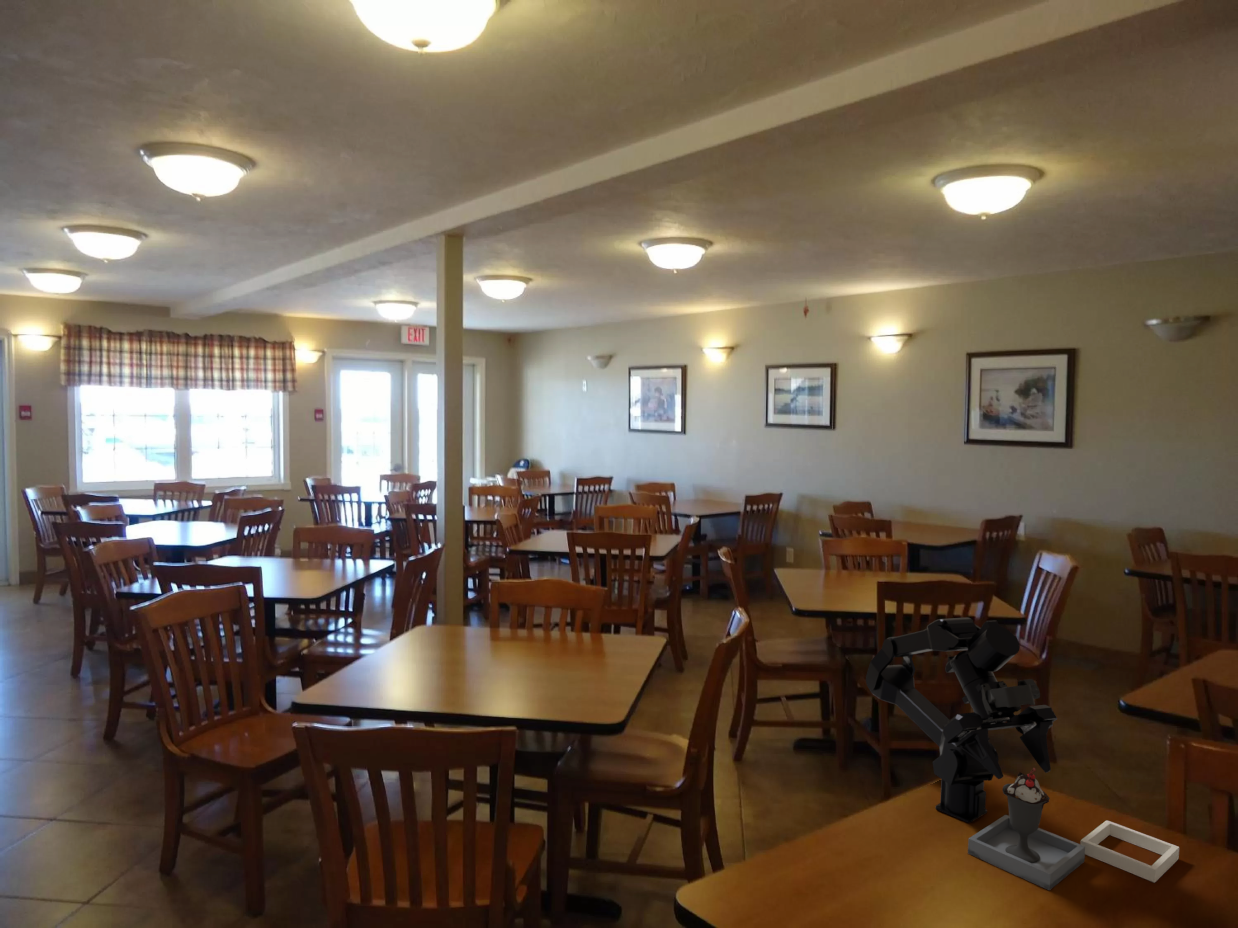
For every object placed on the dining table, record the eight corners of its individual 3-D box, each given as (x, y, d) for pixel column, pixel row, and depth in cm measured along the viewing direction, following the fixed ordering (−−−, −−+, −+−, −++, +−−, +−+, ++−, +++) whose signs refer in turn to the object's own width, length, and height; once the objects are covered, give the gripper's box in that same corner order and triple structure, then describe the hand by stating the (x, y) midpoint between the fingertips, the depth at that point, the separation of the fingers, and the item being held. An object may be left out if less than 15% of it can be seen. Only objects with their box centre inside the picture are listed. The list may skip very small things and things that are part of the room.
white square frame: (1079, 851, 131) (1080, 840, 131) (1105, 831, 138) (1106, 819, 138) (1154, 882, 123) (1155, 869, 123) (1178, 858, 130) (1179, 846, 129)
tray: (967, 853, 130) (968, 838, 130) (1005, 828, 138) (1005, 814, 138) (1049, 890, 120) (1050, 874, 120) (1084, 861, 128) (1085, 846, 128)
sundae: (1033, 871, 124) (1038, 776, 123) (991, 851, 129) (996, 760, 128) (1054, 857, 128) (1059, 765, 127) (1012, 838, 133) (1017, 750, 132)
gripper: (957, 666, 131) (1004, 761, 121) (1051, 657, 136) (1103, 748, 126) (924, 696, 139) (965, 788, 129) (1014, 687, 144) (1060, 775, 134)
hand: (1024, 774), depth 129 cm, fingers open, 9 cm apart
